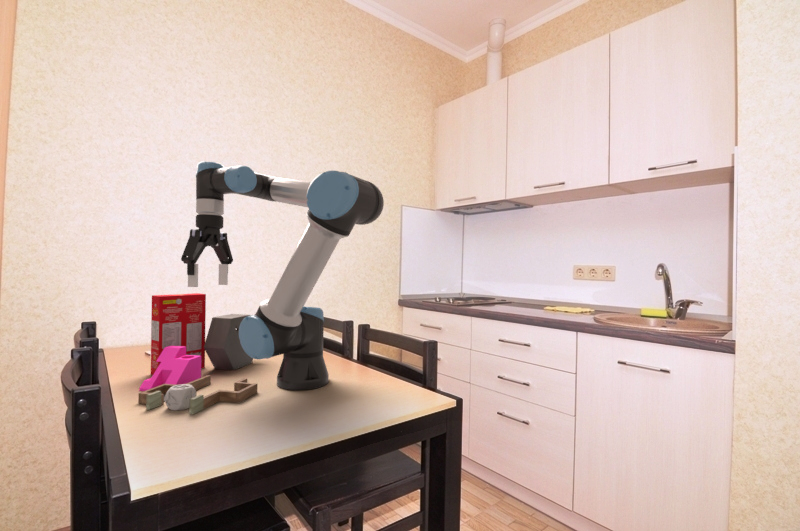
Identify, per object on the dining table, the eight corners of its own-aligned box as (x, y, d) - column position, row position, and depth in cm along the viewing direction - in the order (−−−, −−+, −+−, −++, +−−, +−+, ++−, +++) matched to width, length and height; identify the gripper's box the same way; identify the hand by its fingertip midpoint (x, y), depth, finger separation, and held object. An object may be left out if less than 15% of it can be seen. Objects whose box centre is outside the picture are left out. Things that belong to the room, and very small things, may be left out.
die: (182, 411, 97) (182, 390, 97) (164, 409, 98) (164, 389, 98) (196, 404, 102) (197, 384, 102) (179, 402, 103) (179, 383, 103)
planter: (245, 344, 153) (226, 301, 142) (263, 345, 151) (245, 302, 140) (220, 379, 139) (196, 334, 128) (239, 381, 138) (218, 336, 126)
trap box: (264, 388, 115) (264, 376, 115) (213, 416, 94) (214, 401, 94) (191, 382, 120) (191, 370, 120) (127, 407, 99) (127, 393, 99)
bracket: (170, 379, 124) (171, 345, 124) (201, 381, 122) (201, 347, 122) (139, 391, 112) (139, 354, 112) (172, 393, 110) (172, 356, 110)
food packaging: (196, 365, 140) (197, 293, 140) (204, 367, 137) (205, 294, 137) (150, 374, 128) (151, 295, 128) (158, 377, 125) (159, 296, 125)
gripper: (224, 219, 134) (223, 283, 134) (167, 209, 110) (166, 287, 110) (245, 219, 133) (244, 284, 133) (191, 209, 108) (190, 288, 108)
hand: (208, 285), depth 121 cm, fingers open, 13 cm apart
